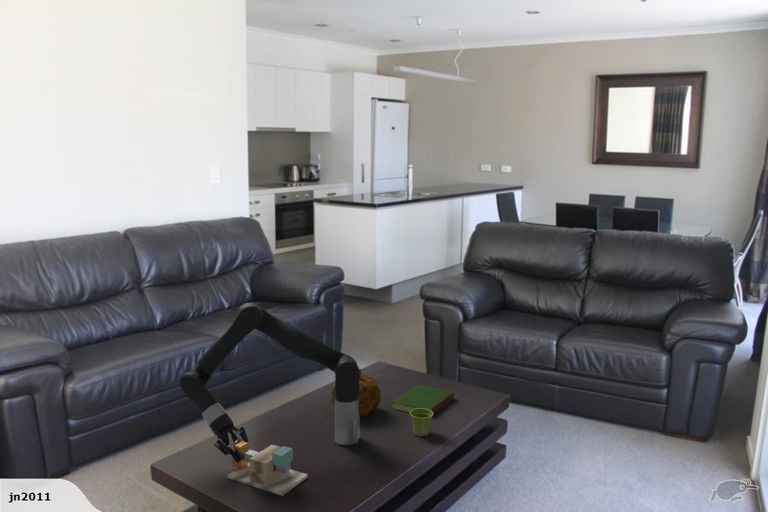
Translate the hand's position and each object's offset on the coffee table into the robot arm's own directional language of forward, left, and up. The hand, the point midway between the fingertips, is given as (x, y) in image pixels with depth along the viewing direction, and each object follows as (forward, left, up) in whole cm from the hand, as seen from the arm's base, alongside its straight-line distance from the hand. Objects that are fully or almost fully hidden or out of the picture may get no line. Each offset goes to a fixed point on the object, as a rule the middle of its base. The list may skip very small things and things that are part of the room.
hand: (244, 458), depth 224 cm
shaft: (-7, +3, -3) cm, 8 cm away
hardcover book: (-56, -71, -5) cm, 91 cm away
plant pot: (-58, -40, -5) cm, 71 cm away
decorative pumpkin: (-28, -56, -5) cm, 63 cm away
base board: (-10, +4, -5) cm, 12 cm away
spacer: (-16, +6, +3) cm, 17 cm away
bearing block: (-10, +4, -5) cm, 12 cm away
